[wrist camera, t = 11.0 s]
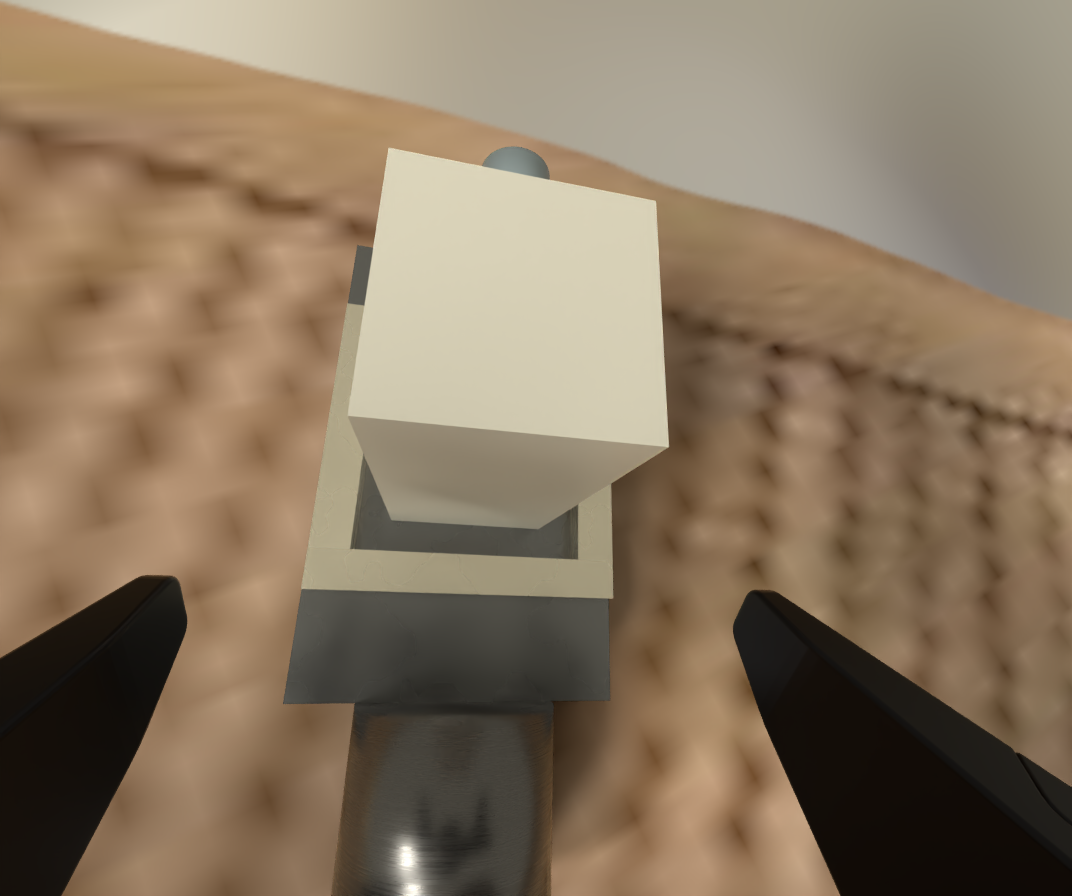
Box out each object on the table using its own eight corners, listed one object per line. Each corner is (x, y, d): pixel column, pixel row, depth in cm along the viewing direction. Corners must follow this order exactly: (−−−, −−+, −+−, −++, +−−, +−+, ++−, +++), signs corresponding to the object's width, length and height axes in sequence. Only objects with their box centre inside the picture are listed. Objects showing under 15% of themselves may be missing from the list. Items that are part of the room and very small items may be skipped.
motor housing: (583, 874, 17) (658, 1005, 12) (274, 899, 15) (187, 1070, 10) (582, 321, 24) (630, 235, 18) (366, 290, 22) (346, 184, 16)
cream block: (538, 529, 17) (668, 447, 8) (391, 520, 16) (348, 415, 7) (543, 351, 20) (651, 122, 10) (413, 334, 19) (401, 65, 9)
